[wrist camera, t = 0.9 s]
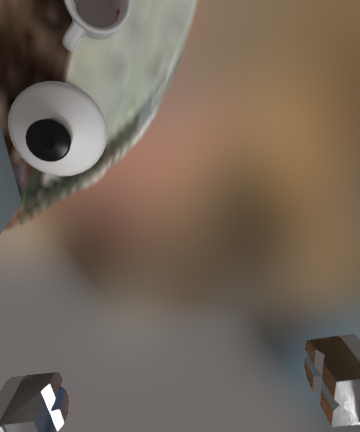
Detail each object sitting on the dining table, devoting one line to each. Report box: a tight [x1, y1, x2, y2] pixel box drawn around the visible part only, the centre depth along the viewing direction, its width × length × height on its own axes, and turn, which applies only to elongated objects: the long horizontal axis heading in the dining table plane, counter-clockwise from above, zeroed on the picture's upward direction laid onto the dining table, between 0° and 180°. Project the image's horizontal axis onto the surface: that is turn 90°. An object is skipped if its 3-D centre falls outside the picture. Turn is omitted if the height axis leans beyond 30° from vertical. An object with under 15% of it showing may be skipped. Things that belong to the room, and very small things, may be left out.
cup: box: [62, 0, 131, 51], centre depth 37 cm, size 11×8×8 cm
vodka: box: [8, 81, 107, 176], centre depth 31 cm, size 9×9×30 cm
